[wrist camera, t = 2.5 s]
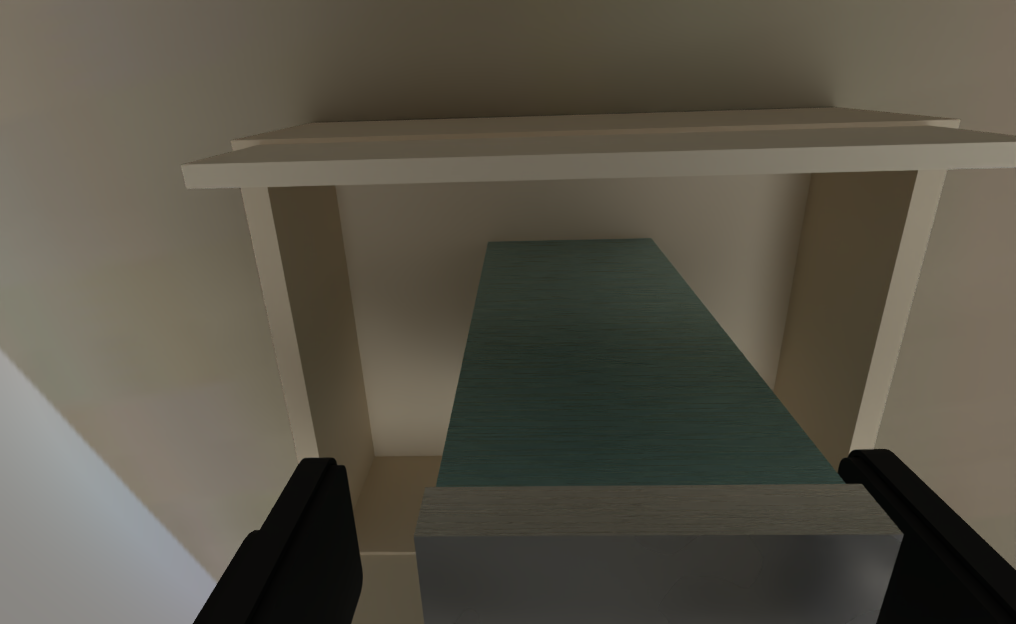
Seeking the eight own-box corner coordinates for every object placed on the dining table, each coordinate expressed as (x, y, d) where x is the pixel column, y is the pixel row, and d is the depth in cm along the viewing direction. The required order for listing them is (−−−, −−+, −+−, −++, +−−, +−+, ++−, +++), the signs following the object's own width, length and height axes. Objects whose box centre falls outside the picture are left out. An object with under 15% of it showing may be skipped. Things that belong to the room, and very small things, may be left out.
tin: (484, 238, 17) (414, 536, 6) (654, 234, 17) (903, 534, 6) (491, 385, 19) (447, 813, 8) (643, 383, 19) (815, 818, 8)
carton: (311, 122, 17) (142, 159, 9) (836, 107, 16) (1098, 133, 9) (364, 461, 21) (279, 665, 14) (771, 458, 21) (907, 667, 13)
